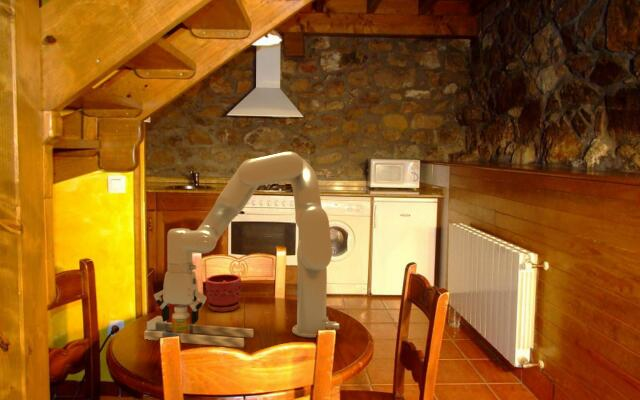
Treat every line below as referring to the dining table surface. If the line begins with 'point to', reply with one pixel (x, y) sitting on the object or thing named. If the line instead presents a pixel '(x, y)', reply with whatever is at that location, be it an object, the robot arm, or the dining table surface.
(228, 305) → the plant pot
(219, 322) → the dining table surface
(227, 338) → the guide channel
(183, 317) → the supplement bottle
